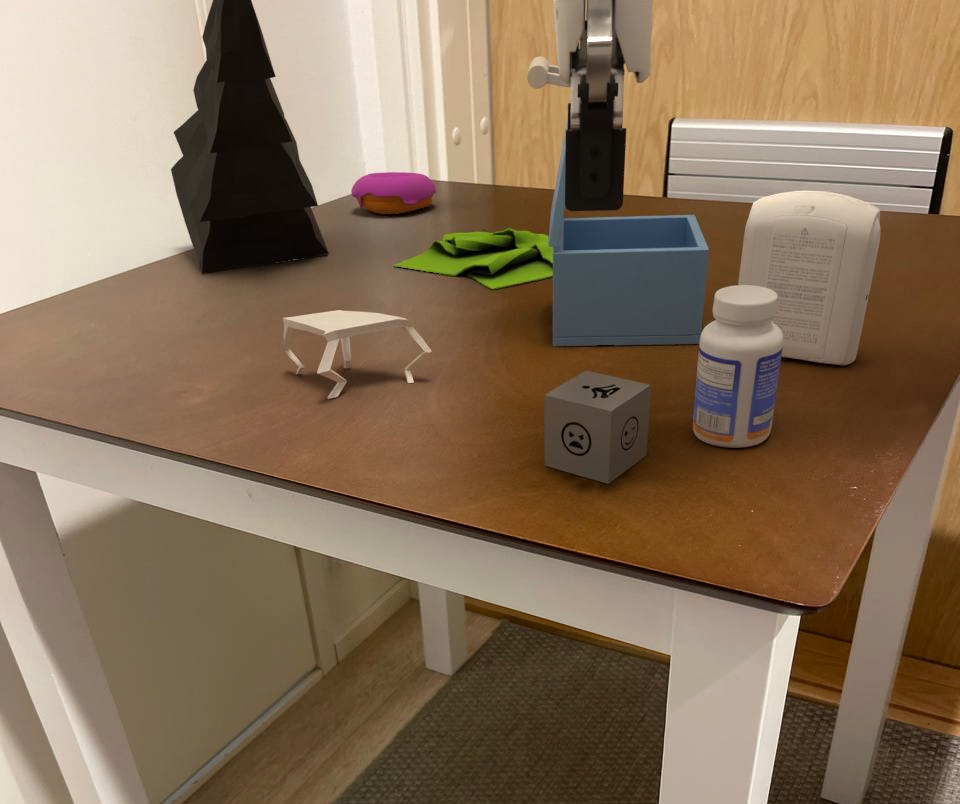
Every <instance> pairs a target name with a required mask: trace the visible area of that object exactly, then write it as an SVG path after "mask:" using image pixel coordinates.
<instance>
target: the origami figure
mask: <svg viewBox="0 0 960 804" xmlns="http://www.w3.org/2000/svg"><path fill="white" fill-rule="evenodd" d="M282 322H283V336H282V337H283V338H282V339H283V353H285V354H286V356H288V357H289V358H290V359H291V360H292V361H293V362H294V364H296V365H297V367H298V368H297V370H296V372H295V375H296V376H297V375H302V372H303V371H304V369H305V365H304V364H303V363H302V362H301V360H299V358H298V357H297V356H296V355H295V353H294V352H293V351H292V350H291V349H290V346H291V342H292V341H291V340H292V337H293V335H294V332H295V329H296V330H300V331H304V332H308V333H312V334H315V335H318V336H321V337H324V338H325V341H326V342H327V343H326V346H325V348H324V351H323V355H322V357H321V360H320V363H319V365H318V368H317V372H316V373H317V375H320V376H322V377H325V378H327V379H329V380H331V381H334V382H337V383H336V384H335V386H334V387H333V389H332V390H331V391H330V393H329V395H328V396H327V399H328V400H330V399H333V398H338V397H339V395H340V394H341V392H342V390H343V389H344V387H345V385H346V384H347V382H348V380H347V379H346V378H344V377H343V376H342V375H340V374H339V373H337V372H336V371H335V370H333V369H332V365H333V361H334V357H335V354H336V352H337V348H338V345H339V343H340V345H341V351H342V359H343V369H351V368H352V353H351V340H350V339H351V337H356V336H361V335H367V334H372V333H379V332H383V331H390V330H395V329H399V328H402V329H403V330H404V332H406V333H407V334H408V335H409V337H411V338H412V339H413V340H414V342H415V343H417V344H418V345H419V347H420V348H421V349H422V350H423V351H422V352H421V353H420V354H418V355H417V356H416V357H415V358H414V359H412V361H411V362H409V363H408V364H407V365H406V366H405V367H403V372H404V376H405V379H406V382H407V384H414V383H415V381H414V378H413V373H412V370H411V369H413V368H414V367H415V366H417V365H418V364H419V363H420V362H421V361H423V360H424V359H425V358H427V357H428V356H429V355H431V354H432V353H433V352H432V349H431V348H430V347H429V346H428V345H427V343H426V341H425V340H424V339H423V336H421V334H419V332H418V331H417V330H416V328H414V325H412V323H411V322H410V321H409V320H408V319H407V318H405V317H403V316H402V317H401V316H398V315H397V316H396V315H391V314H385V313H381V312H373V311H356V310H355V311H353V310H341V309H338V310H329V311H323V312H315V313H308V314H302V315H301V314H300V315H295V316H288V317H282Z"/></svg>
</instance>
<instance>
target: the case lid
mask: <svg viewBox="0 0 960 804" xmlns="http://www.w3.org/2000/svg"><path fill="white" fill-rule="evenodd" d="M526 79H527V83H528V85H529V86H530V87H531V88H533V89H537V90H539V89H542V88H543V87H545V85H546V84H547V85H554V86H559V87H563V88H570V89H571V83H570V85H568V84H566V83H565V82H564V81H562V80H561V79H560V77H559V67H558V65H554V64H550V62H549V60H548V59H547V58H546V57H545V56H542V55H540V56H535V57H534V58H533V59H532V60H531V62H530V64H529V68H528V70H527V73H526ZM570 80H571V77H570ZM570 82H571V81H570ZM569 103H571V99H570V100H569ZM565 123H566V124H565V129H564V134H563V141H562V146H561V152H560V158H559V164H558V169H557V174H556V179H555V186H554V191H553V196H552V197H553V198H552V203H551V209H550V215H549V217H550V218H549V230H548V236H549V241H548V246H549V247H555V248H557V247H558V243H559V238H560V233H561V227H562V222H563V218H564V216H565V211H566V207H565V155H566V130H568V116H567V118H566V122H565Z"/></svg>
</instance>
